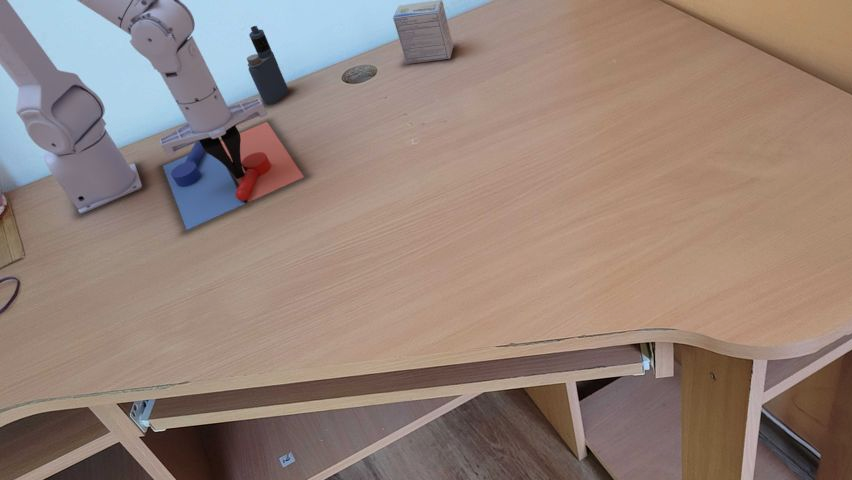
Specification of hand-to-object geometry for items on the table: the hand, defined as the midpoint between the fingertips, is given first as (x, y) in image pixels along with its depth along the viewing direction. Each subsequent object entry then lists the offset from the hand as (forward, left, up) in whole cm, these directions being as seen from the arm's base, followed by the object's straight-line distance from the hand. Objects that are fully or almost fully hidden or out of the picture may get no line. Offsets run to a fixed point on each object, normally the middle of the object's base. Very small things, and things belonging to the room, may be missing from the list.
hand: (239, 174), depth 104 cm
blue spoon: (-5, +9, -1) cm, 10 cm away
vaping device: (+12, +21, -1) cm, 24 cm away
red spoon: (+1, -2, -1) cm, 2 cm away
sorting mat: (-1, +4, -1) cm, 4 cm away
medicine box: (+38, +13, -1) cm, 40 cm away
